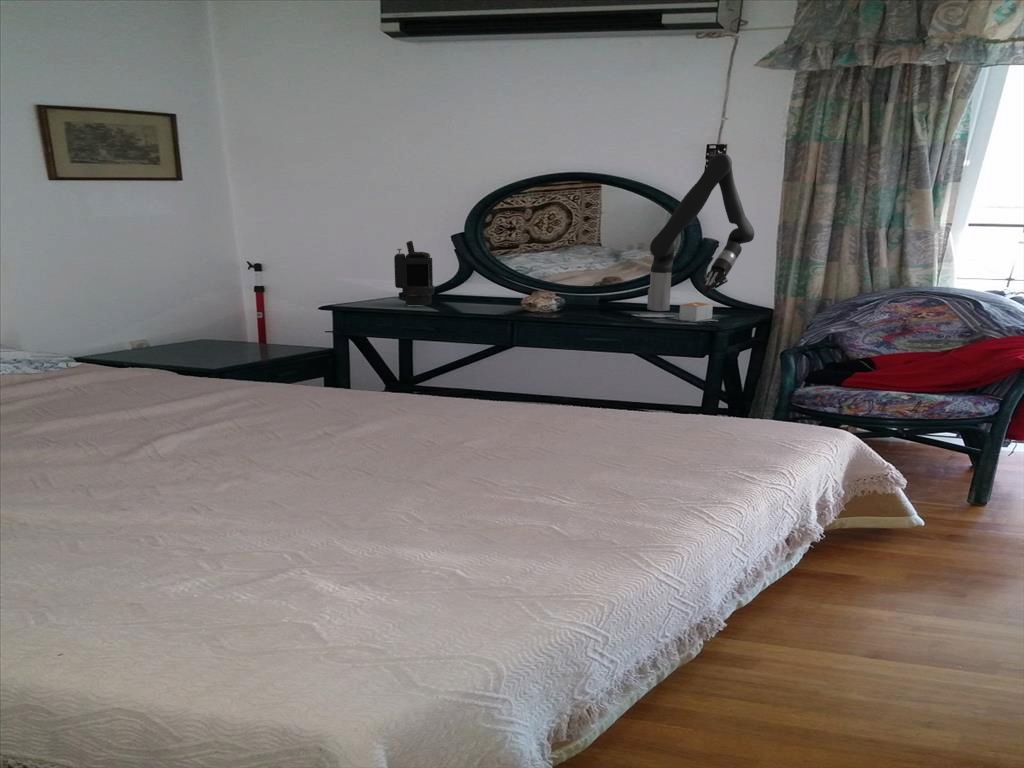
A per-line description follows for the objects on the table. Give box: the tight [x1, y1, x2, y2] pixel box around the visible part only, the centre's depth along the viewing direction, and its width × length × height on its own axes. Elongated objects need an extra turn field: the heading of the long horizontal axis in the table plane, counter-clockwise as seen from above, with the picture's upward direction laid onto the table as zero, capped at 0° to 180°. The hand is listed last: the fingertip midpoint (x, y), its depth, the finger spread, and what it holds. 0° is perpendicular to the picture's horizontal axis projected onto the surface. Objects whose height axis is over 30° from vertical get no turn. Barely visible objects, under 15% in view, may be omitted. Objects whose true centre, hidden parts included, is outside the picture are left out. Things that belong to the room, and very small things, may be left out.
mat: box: [675, 315, 719, 323], centre depth 311 cm, size 18×12×1 cm
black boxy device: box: [393, 240, 435, 305], centre depth 349 cm, size 15×18×30 cm
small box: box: [678, 301, 713, 321], centre depth 310 cm, size 8×6×13 cm
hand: (704, 293), depth 313 cm, fingers closed
